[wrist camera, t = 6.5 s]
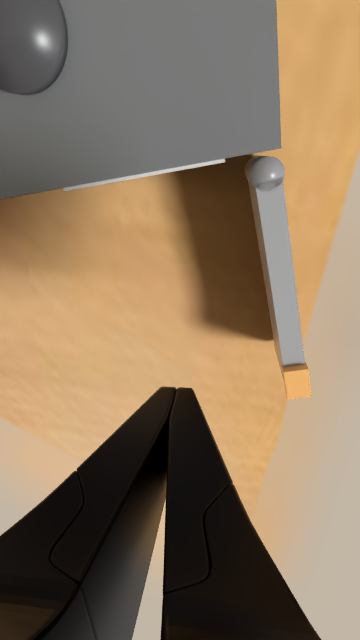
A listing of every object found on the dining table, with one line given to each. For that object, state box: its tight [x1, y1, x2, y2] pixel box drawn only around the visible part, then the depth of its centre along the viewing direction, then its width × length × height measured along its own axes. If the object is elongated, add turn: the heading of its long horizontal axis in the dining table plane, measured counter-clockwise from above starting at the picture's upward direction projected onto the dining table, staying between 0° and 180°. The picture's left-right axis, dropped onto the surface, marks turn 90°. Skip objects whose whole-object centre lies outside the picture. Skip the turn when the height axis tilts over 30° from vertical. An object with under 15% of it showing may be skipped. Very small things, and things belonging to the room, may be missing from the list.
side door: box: [245, 156, 311, 399], centre depth 16 cm, size 1×11×5 cm, turn 14°
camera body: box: [0, 0, 281, 199], centre depth 13 cm, size 8×12×6 cm
